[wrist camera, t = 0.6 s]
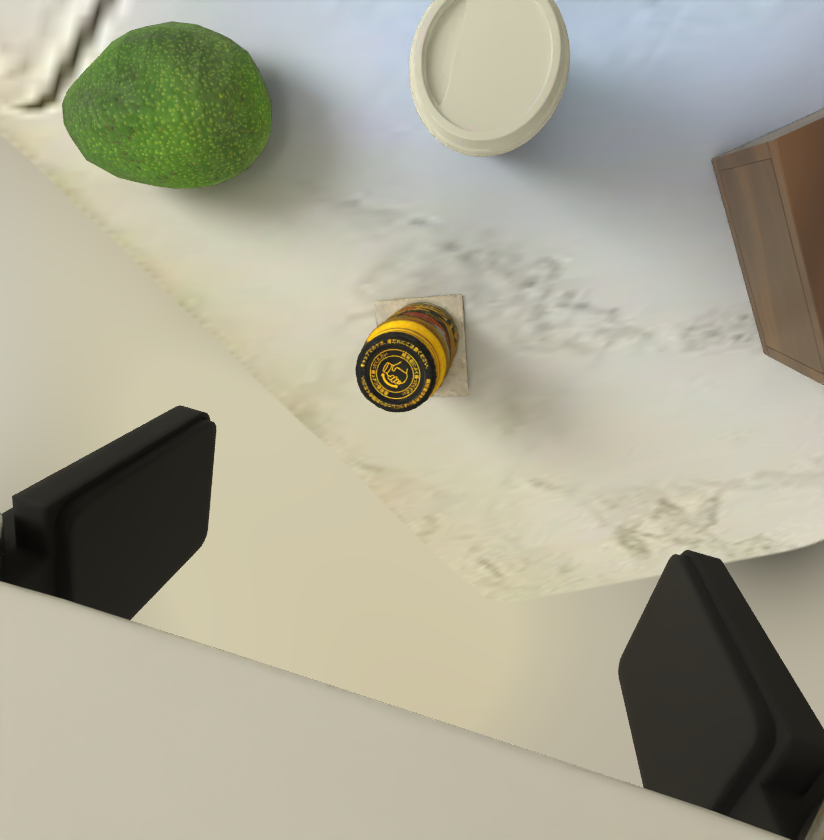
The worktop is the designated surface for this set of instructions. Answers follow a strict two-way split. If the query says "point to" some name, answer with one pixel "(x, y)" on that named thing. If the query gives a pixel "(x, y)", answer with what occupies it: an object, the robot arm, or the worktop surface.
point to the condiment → (414, 352)
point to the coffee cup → (488, 72)
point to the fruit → (170, 107)
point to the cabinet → (781, 237)
